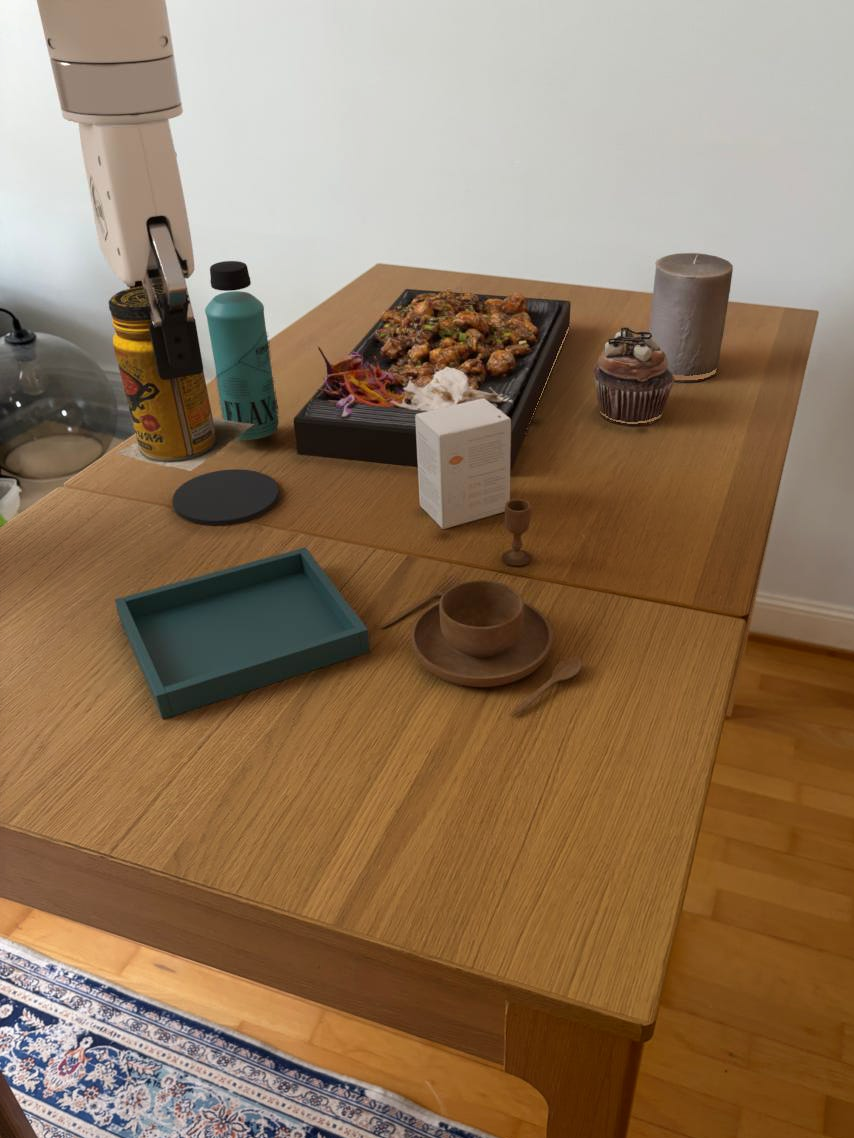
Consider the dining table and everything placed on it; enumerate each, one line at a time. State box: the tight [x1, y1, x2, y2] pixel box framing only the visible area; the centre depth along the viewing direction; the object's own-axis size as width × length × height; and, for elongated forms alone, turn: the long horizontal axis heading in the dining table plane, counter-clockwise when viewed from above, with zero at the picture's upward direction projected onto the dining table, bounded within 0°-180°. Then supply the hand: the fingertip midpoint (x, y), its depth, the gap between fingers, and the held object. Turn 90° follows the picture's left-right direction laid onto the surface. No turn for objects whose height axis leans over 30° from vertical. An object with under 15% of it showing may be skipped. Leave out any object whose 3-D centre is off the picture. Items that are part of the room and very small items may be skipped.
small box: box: [415, 398, 511, 530], centre depth 98 cm, size 8×6×10 cm
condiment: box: [108, 286, 254, 472], centre depth 75 cm, size 7×8×12 cm
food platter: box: [292, 288, 572, 473], centre depth 124 cm, size 45×25×10 cm, turn 167°
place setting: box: [380, 498, 583, 717], centre depth 84 cm, size 18×20×6 cm
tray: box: [114, 547, 371, 720], centre depth 84 cm, size 18×15×2 cm
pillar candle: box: [648, 252, 734, 383], centre depth 127 cm, size 10×10×15 cm
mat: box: [171, 468, 280, 526], centre depth 103 cm, size 11×11×1 cm
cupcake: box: [593, 326, 675, 427], centre depth 117 cm, size 10×10×10 cm
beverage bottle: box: [204, 260, 281, 441], centre depth 108 cm, size 6×7×20 cm
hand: (169, 357), depth 74 cm, fingers closed on condiment, 6 cm apart
